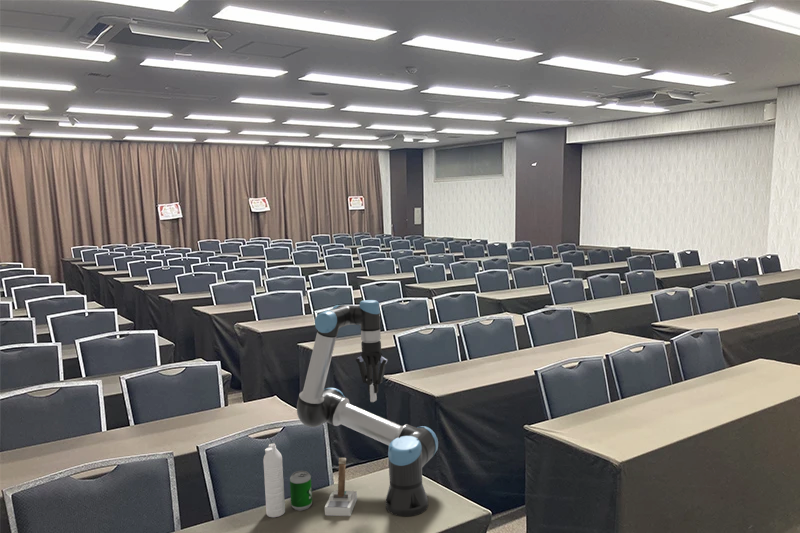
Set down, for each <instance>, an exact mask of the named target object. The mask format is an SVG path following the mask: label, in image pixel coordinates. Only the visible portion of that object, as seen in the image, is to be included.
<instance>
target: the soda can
mask: <svg viewBox="0 0 800 533" xmlns="http://www.w3.org/2000/svg"><path fill="white" fill-rule="evenodd" d="M289 488H290V505H291V507H292V508H293V509H294V510H295V511H299V512H300V511H305V510H308V509H309V508H310V507H311V506H312V504H313V493H312V492H313V490H312V476H311V474H310V473H309V472H308V471H306V470H298V471H295V472H292V474H291V475H290V477H289Z"/></svg>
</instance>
